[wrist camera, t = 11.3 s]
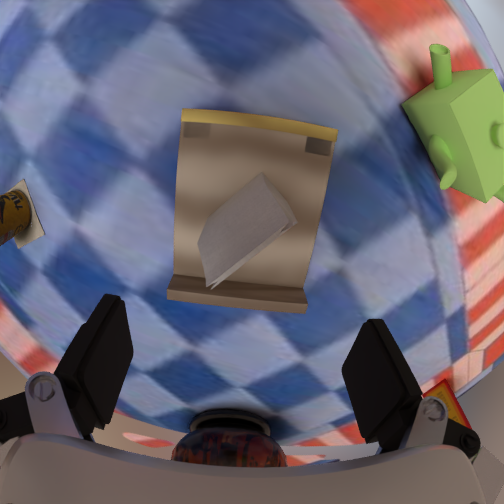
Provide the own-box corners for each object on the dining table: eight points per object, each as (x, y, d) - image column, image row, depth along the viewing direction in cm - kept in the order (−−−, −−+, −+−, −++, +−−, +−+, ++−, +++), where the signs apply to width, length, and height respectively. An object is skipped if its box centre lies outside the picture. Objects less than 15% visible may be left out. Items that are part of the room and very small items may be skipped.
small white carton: (207, 218, 26) (186, 269, 17) (261, 171, 24) (270, 199, 15) (233, 244, 27) (226, 305, 18) (287, 201, 26) (309, 244, 17)
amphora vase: (171, 434, 50) (156, 539, 25) (187, 387, 42) (165, 541, 17) (260, 449, 54) (264, 549, 29) (301, 408, 45) (321, 543, 20)
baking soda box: (450, 390, 49) (474, 436, 34) (429, 405, 50) (450, 452, 36) (445, 378, 45) (472, 430, 31) (422, 394, 47) (446, 448, 33)
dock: (189, 110, 24) (174, 106, 19) (328, 129, 25) (348, 130, 20) (179, 270, 32) (167, 299, 27) (296, 282, 33) (305, 313, 28)
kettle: (467, 193, 28) (524, 223, 18) (386, 176, 27) (445, 205, 17) (478, 90, 21) (538, 94, 11) (395, 52, 21) (456, 32, 11)
